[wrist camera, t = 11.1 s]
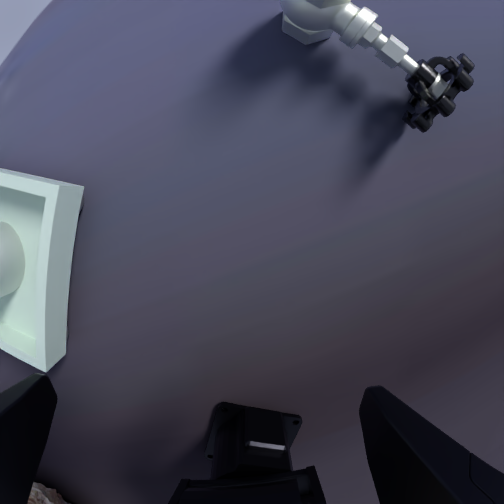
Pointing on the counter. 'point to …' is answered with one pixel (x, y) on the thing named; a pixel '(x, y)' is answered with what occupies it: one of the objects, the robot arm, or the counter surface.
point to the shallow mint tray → (39, 265)
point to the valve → (382, 53)
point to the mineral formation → (44, 495)
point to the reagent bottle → (10, 260)
